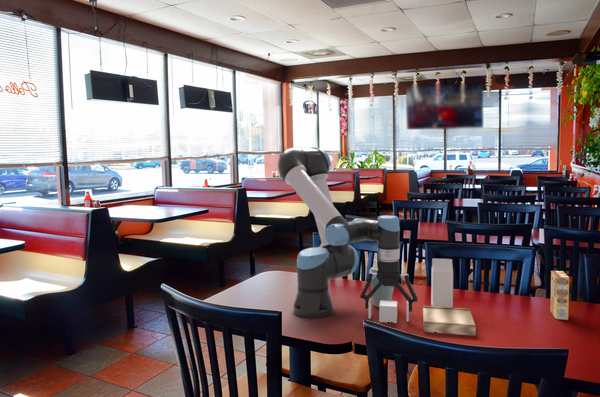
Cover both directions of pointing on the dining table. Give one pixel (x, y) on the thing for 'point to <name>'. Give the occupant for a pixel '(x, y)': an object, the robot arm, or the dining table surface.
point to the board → (448, 320)
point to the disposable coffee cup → (380, 290)
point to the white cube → (388, 311)
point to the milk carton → (442, 283)
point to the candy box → (559, 295)
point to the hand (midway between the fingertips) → (388, 319)
